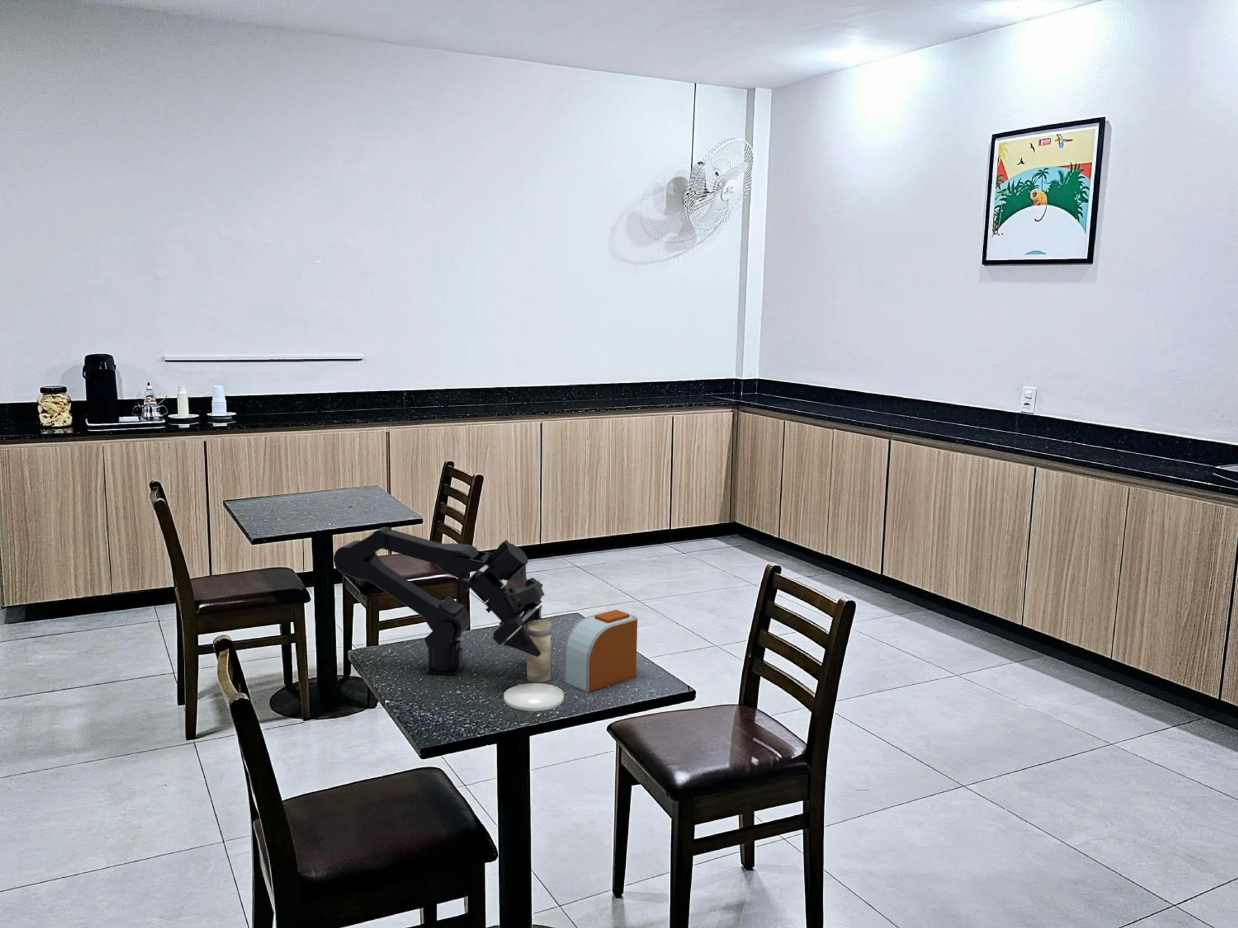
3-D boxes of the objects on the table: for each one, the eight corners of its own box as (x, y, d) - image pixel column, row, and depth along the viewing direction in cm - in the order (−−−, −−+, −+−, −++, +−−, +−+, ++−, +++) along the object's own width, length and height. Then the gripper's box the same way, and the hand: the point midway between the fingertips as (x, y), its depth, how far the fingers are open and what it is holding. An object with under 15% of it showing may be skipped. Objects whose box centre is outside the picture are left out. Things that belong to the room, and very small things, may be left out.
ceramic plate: (496, 708, 197) (496, 703, 197) (513, 685, 208) (513, 680, 208) (555, 713, 195) (555, 708, 195) (569, 690, 206) (569, 685, 206)
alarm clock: (613, 664, 222) (614, 605, 220) (640, 675, 216) (641, 614, 214) (562, 680, 212) (562, 619, 210) (588, 692, 206) (589, 629, 204)
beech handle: (523, 681, 211) (523, 626, 209) (530, 672, 216) (530, 618, 214) (547, 683, 210) (548, 628, 208) (553, 674, 215) (554, 620, 213)
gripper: (508, 581, 201) (561, 638, 201) (532, 558, 219) (581, 610, 219) (470, 616, 204) (523, 672, 204) (497, 591, 222) (546, 642, 222)
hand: (545, 647), depth 212 cm, fingers open, 9 cm apart
